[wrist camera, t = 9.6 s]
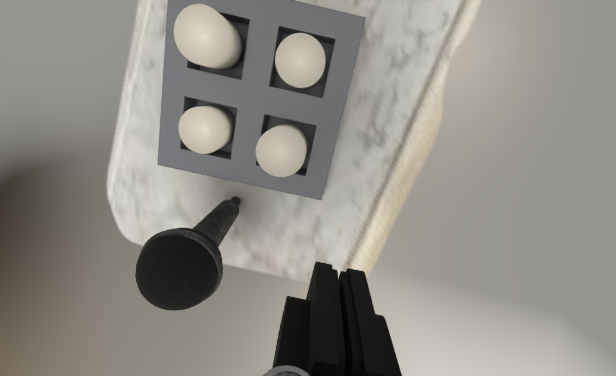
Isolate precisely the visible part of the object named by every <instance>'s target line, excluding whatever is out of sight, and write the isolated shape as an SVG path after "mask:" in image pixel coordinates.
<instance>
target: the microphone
mask: <svg viewBox="0 0 616 376" xmlns="http://www.w3.org/2000/svg"><path fill="white" fill-rule="evenodd" d="M239 204H240V200H239V199H238V198H237V197H233V198H232V199H231V200H225V201H222V202H221V203H220V204H219V205H218V206H217V207H216V208H215V209H214V210H213V211H211V212H210V213H209V214H208V215H207V216H206V217H205V218H204V219H203V220H202V221H201V222H199V223H198V224H197V225H196V226H195V227H194V228H193V229H190V228H177V229H170V230H166V231H162V232H160V233H158V234H155V235H154V236H152V237H151V238H150V239H149V240H148V241H147V242H146V243H145V245H144V247H143V249H142V250H141V253H140V256H139V258H138V261H137V264H136V275H135V276H136V282H137V285H138V288H139V290H140V292H141V294H142V295H143V296H144V298H146V300H147V301H149V302H150V303H151V304H153V305H154V306H156V307H159V308H161V309H165V310H184V309H188V308H190V307H193V306H195V305H197V304H199V303H201V302H202V301H203V300H205V299H207V298H208V297H210V296H211V295H212V294H213V293H214V292H215V291H216V290H217V288H218V287H219V285H220V283H221V279H222V274H223V266H222V257H221V253H220V251H219V249H218V247H219V245H220V244H221V242H222V240H223V239H224V237H225V235H226V234H227V232H228V230H229V229H230V227H231V225H232V224H233V222H234V220H235V219H236V217H237V215H238V213H239V207H238V205H239Z"/></svg>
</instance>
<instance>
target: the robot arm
mask: <svg viewBox="0 0 616 376" xmlns="http://www.w3.org/2000/svg"><path fill="white" fill-rule="evenodd" d="M263 376H402V375H401V372H400V368H399V364H398V361H397V358H396V354H395V351H394V347H393V344H392V340H391V337H390V334H389V330H388V327H387V324H386V321H385V318H384V317H383V316H381V315H377V314H375V311H374V307H373V304H372V300H371V296H370V292H369V288H368V284H367V280H366V276H365V273H364V272H363V271H359V270H354V269H350V268H348V269H347V271H346V272H343V271H341V273H340V275H339V279H338V273H337V270H334V269H332V265H331V264H326V263H321V262H316V263H315V266H314V270H313V274H312V278H311V282H310V286H309V290H308V293H307V297H306V300H304V299H299V298H295V297H290V296H287V298H286V302H285V306H284V311H283V315H282V320H281V325H280V330H279V334H278V340H277V345H276V351H275V357H274V362H273V368H272V369H270V370H269V371H268V372H267V373H266V374H264V375H263Z"/></svg>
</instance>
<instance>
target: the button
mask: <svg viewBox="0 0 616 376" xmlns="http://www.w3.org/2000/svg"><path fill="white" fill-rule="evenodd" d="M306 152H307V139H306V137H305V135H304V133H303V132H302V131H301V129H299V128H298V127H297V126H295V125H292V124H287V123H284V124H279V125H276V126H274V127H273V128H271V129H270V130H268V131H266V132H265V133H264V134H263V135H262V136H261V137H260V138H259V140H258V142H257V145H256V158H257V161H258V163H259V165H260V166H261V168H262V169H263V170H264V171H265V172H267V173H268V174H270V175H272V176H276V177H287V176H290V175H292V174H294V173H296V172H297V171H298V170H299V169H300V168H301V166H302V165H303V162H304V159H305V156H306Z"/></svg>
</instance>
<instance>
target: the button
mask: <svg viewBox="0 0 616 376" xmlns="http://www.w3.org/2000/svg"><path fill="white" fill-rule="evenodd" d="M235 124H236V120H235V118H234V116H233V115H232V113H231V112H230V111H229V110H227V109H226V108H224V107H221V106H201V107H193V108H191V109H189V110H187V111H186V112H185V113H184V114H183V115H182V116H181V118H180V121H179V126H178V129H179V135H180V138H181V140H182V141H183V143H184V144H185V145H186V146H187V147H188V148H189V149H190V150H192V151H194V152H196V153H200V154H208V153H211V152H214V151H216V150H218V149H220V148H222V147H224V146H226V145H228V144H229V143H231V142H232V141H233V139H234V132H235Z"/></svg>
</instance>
